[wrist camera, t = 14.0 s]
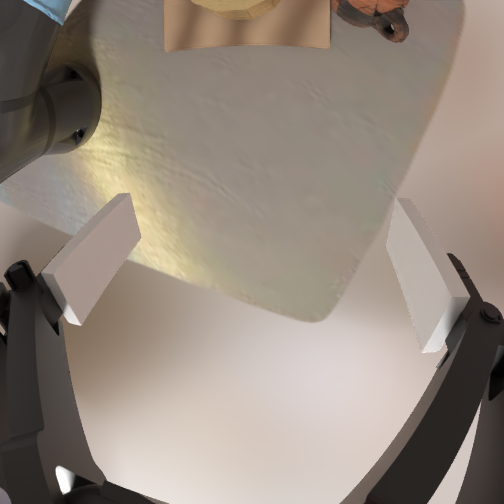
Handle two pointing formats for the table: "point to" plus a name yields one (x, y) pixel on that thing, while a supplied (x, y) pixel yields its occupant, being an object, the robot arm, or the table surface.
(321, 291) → the table surface
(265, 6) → the brass ring
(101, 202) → the table surface
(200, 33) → the stand
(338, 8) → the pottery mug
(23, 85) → the robot arm
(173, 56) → the table surface
